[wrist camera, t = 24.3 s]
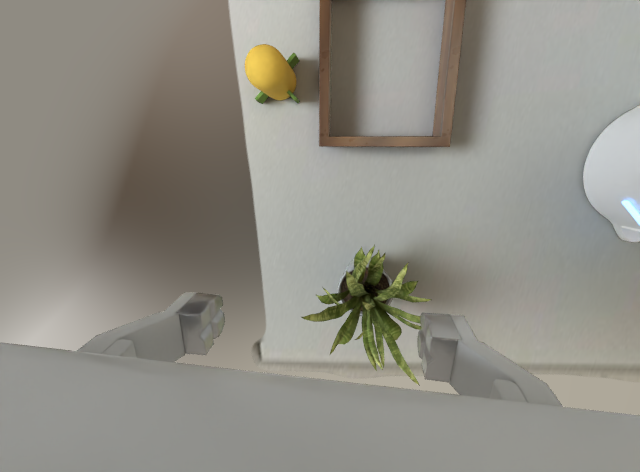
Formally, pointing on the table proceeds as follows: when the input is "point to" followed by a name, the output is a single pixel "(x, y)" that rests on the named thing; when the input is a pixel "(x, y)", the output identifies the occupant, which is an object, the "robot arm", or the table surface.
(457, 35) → the wooden box
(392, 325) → the house plant
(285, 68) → the corn plush toy
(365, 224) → the table surface
